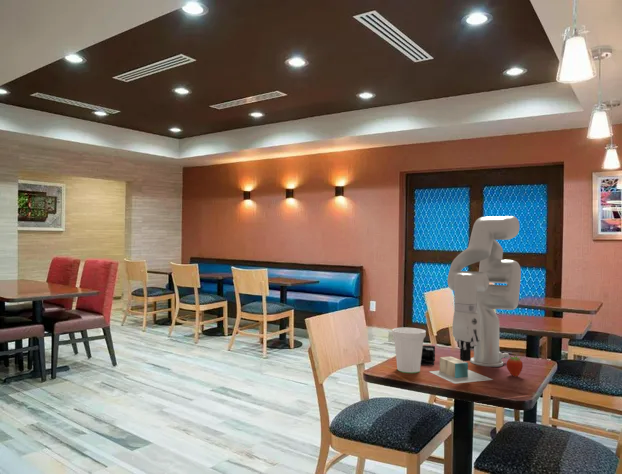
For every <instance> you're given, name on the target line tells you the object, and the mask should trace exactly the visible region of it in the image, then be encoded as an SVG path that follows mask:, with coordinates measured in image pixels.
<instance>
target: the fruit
mask: <svg viewBox="0 0 622 474" xmlns="http://www.w3.org/2000/svg"><path fill="white" fill-rule="evenodd" d="M508 358H509V359H508V360H507V361H506V369H507V370H508V372H509V373H510V375H511V376H512V377H515V378H516V377H519V376H520V374H521V373H522V370H523V367H524V365H523V364H524V363H523V361H522V360H521V359H522V356H520V357H518V356H516V355H514V357H513V356H511V355H509V357H508Z"/></svg>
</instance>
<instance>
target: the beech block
mask: <svg viewBox="0 0 622 474" xmlns="http://www.w3.org/2000/svg"><path fill="white" fill-rule="evenodd" d="M468 370H469V363H468V361H462V360H460V358H457V357H454V356H441V357H439V371H441V372H443V373H446V374H448V375H450V376H452V377H455V378H462V377H468Z"/></svg>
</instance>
